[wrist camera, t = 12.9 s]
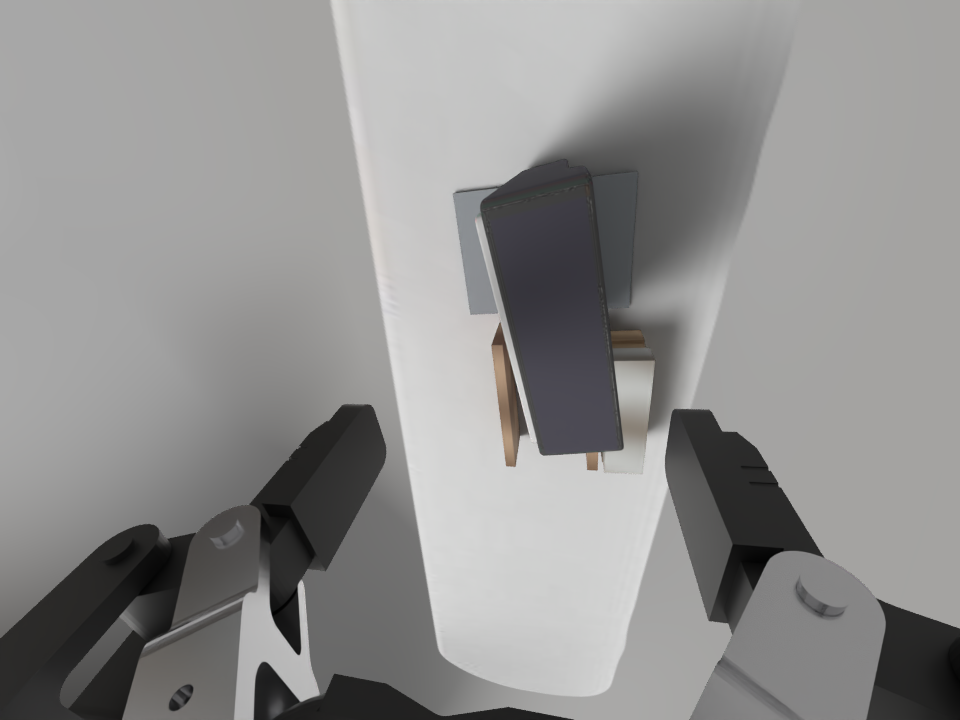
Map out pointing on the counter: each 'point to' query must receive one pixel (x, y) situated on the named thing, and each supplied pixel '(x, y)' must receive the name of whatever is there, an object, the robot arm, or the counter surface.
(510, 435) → the rack
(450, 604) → the counter surface
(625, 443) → the offcut stack
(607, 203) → the slate mat
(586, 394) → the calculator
